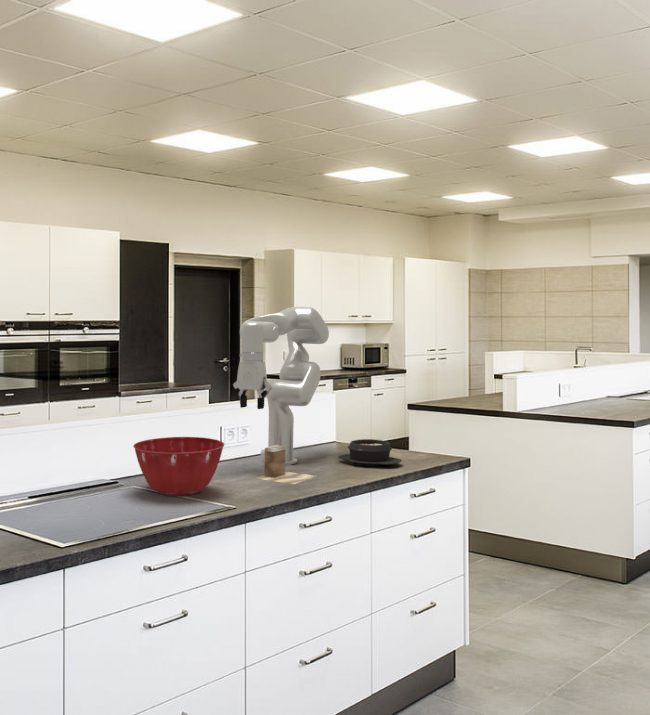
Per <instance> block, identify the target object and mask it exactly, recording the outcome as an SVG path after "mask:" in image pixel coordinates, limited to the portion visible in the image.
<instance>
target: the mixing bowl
mask: <svg viewBox="0 0 650 715" xmlns="http://www.w3.org/2000/svg"><path fill="white" fill-rule="evenodd" d="M132 447H133V448H134V451H135V455H136V459H137V462H138V466H139V468H140V470H141V473H142V475H143V477H144V479H145V481H146V482H147V485H149V487H150V488H151V489H152V490H154V492H157V493H158V494H159V493H160V494H159V495H162V494H163V495H162V496H166V495H170V497H188V496H193V495H197V494H199V493H200V492H202V491H203V490H204V489H206V488H207V487H208V485H209V484H210V482H211V481H212V480H213V477H214V475H215V473H216V470H217V468H218V465H219V463H220V460H221V457H222V454H223V453H222V452H223V449H224V447H225V442H223V441H222V440H218V439H214V438H209V437H208V438H207V437H199V436H171V437H170V436H169V437H159V438H150V439H146V440H145V439H144V440H141V441H138V442H135V443H134V444H133V446H132Z"/></svg>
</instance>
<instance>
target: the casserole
mask: <svg viewBox="0 0 650 715" xmlns="http://www.w3.org/2000/svg"><path fill="white" fill-rule="evenodd" d="M347 449H348V450H349V453H345V454H341V455H339V456H338V459H339V460H343V461H348V462H351V463H353V464H355V465H358V466H363V467H379V466H380V467H381V466H383V465H388V466H389V465H396V464H399V463H401V462H402V459H400V458H397V457H393V456H390V453H391V451H392V449H393V448H392V447H391V444H390V442H389V441H387V440H381V439H374V438H373V439H370V438H369V439H368V438H366V439H364V438H363V439H362V438H361V439H355V440H351V441H350V443H349V445H348V446H347Z"/></svg>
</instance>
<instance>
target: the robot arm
mask: <svg viewBox="0 0 650 715" xmlns="http://www.w3.org/2000/svg"><path fill="white" fill-rule="evenodd" d="M283 335H286V339H287V346H288V354H287V356H286V358H285V360H284V362H283V365H282V366H281V368H280V372H279V379H275V380H272V381H270V382H268V381H267V380H268V378H267V367H266V361H264V354H265V353H264V350H265V349H264V348H265V346H264V345H265V344H268V343H274V342H276V341H277V340H278V339H279V337H280V336H283ZM239 336H240V338H241V340H242V341H241V342H242V344H241V353H239V357H240V358H241V360H240V361H239V364H238V369H237V375H236V376H237V377H236V381H235V382H233V384H232V385H233V388H234V389H235V392H237V394H238V396H239V405H240V408H241V409H242V408H246V407H248V395H247V392H248V391H256V393H257V395H258V397H257V401H256V403H257V406H256V407H257V408H256V409H257V410H262V409H265V408H264V407H265V398H266V399H267V406H268V438H267V440H268V441H267V445H268V446H267V447H270V446H274V445H279V446H285V465H289V466H290V465H295V464H297V463H298V459H297V458H295V457H294V425H295V424H294V423H295V422H294V419H295V418H294V413H293V412H292V409H291V408H290V406H291V407H292V406H293V407H306V406H308V405H309V404H310V402H311V401H312V399H313V397H314V395H315V392H316V390H317V388H318V386H319V384H320V380H321V371H322V370H321V368H320V365H319V364H318V363H317V362H314V361H310V354H309V352H308V351H307V349H306V348H305V346H304V345H307V344H308V345H310V344H311V345H323V344H325V343H327V341H328V340H329V336H330V331H329V327H328V324H327V323H326V322H325V320H324V318H322V315H321V314H320V313H319V311H317V310H316V309H315V308H314V307H311V306H310V307H309V306H308V307H307V306H291V307H287V308H284V309H283V310H281V311H278V312H276V313H269V314H267V315H260V316H255V317H252V318H249V319H247V320H245V321H244V322H242V324H241V325H240V328H239ZM264 343H265V344H264ZM260 455H261V456H265V449H261V451H260ZM263 462H264V463H265V458H264V459H263Z"/></svg>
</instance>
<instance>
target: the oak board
mask: <svg viewBox="0 0 650 715" xmlns="http://www.w3.org/2000/svg"><path fill="white" fill-rule="evenodd" d="M317 477H318V475H313V474H307V473H306V474H305V473H298V472H291V471H285V475H282V476H278V477H275V478H271V477H264V475H262V476H258V477H255V478H254V479H256V480H263V481H269V482H277V483H282V484H283V483H284V484H290V485H296V484H299V483H302V482H305V481H308V480H311V479H313V478H317Z"/></svg>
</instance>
